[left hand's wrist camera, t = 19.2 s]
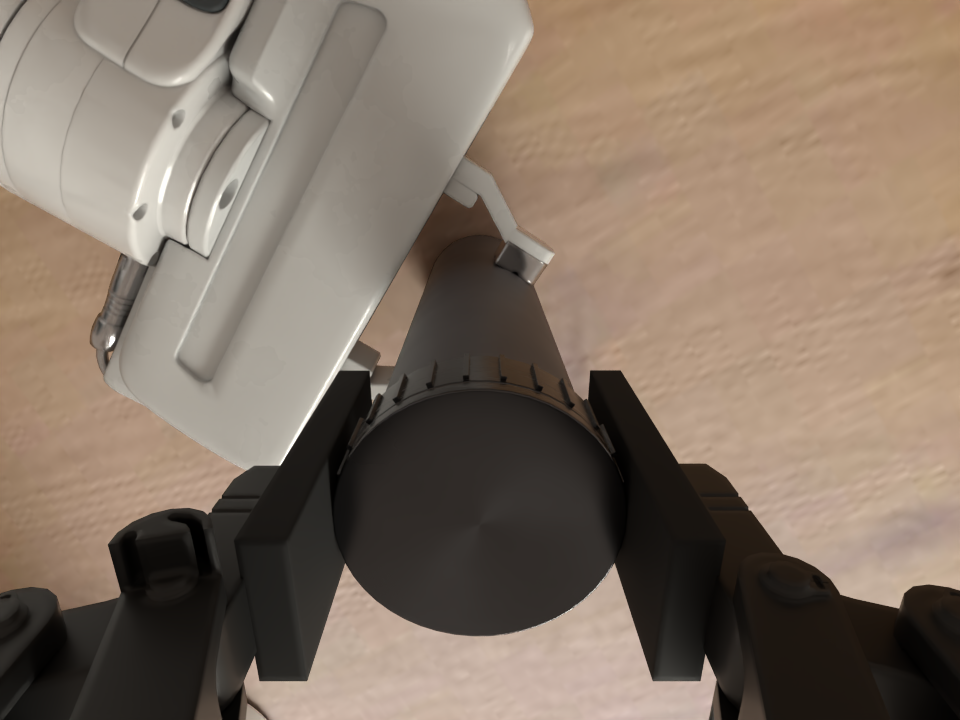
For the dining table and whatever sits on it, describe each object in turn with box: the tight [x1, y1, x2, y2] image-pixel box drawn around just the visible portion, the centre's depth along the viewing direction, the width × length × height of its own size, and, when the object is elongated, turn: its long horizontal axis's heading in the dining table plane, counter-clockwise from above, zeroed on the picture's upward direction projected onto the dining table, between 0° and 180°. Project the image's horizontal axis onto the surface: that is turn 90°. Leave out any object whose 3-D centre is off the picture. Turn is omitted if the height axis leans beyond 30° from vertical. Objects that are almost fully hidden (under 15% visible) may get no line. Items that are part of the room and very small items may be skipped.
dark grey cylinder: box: [386, 235, 574, 391], centre depth 20 cm, size 5×5×18 cm
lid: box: [332, 353, 627, 636], centre depth 11 cm, size 6×6×2 cm
